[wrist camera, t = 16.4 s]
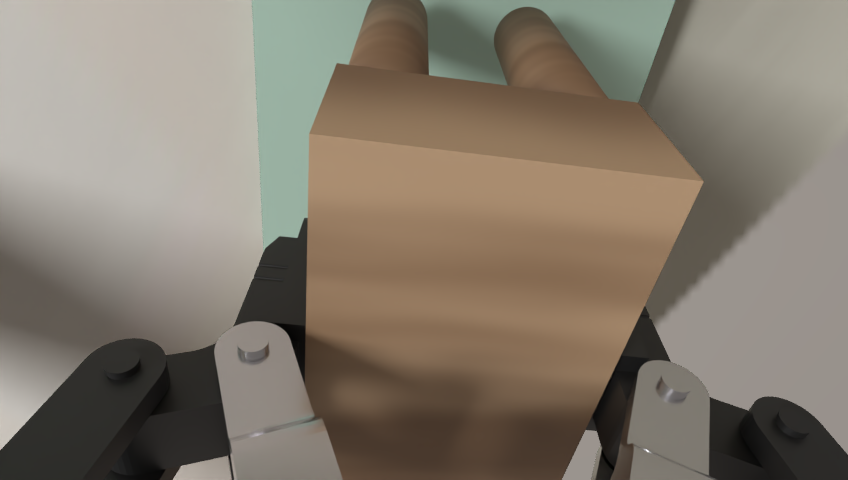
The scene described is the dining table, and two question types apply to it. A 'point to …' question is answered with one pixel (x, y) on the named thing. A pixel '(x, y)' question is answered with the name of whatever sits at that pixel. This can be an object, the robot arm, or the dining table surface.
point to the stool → (476, 251)
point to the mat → (448, 57)
